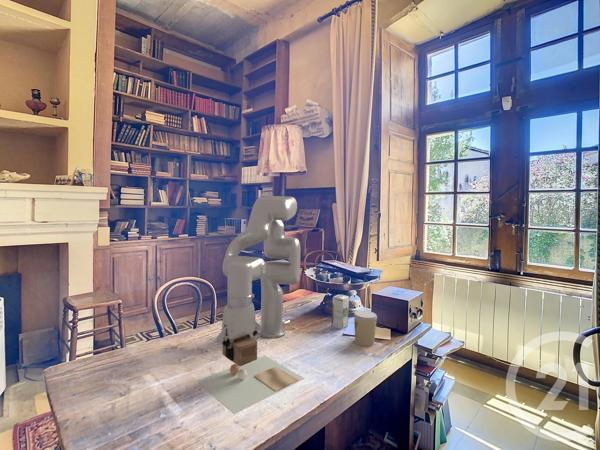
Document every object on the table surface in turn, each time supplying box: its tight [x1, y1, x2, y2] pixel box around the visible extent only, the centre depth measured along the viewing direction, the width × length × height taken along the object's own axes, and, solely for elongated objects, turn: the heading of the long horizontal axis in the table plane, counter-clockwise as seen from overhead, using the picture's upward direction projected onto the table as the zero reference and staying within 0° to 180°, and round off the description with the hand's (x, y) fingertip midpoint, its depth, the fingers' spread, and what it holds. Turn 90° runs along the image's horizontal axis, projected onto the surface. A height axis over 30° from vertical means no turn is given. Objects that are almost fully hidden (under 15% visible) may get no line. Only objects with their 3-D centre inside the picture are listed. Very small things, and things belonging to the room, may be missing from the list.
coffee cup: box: [353, 310, 378, 347], centre depth 131 cm, size 9×9×12 cm
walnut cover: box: [222, 335, 258, 366], centre depth 101 cm, size 10×6×6 cm, turn 44°
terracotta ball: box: [229, 363, 239, 374], centre depth 102 cm, size 3×3×3 cm
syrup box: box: [330, 294, 350, 330], centre depth 148 cm, size 6×6×14 cm
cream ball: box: [237, 369, 247, 380], centre depth 99 cm, size 3×3×3 cm
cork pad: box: [254, 367, 298, 391], centre depth 99 cm, size 9×11×1 cm
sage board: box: [196, 355, 306, 415], centre depth 99 cm, size 26×21×1 cm
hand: (239, 354), depth 101 cm, fingers closed on walnut cover, 6 cm apart
